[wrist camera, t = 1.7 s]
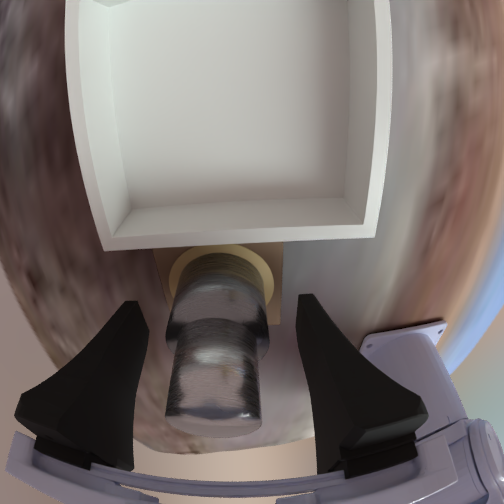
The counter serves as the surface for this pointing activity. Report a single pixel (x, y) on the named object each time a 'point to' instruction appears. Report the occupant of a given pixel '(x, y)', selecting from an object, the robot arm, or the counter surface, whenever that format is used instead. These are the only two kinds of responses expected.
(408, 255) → the counter surface
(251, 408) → the silver metal knob
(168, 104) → the bin
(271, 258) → the stud block
